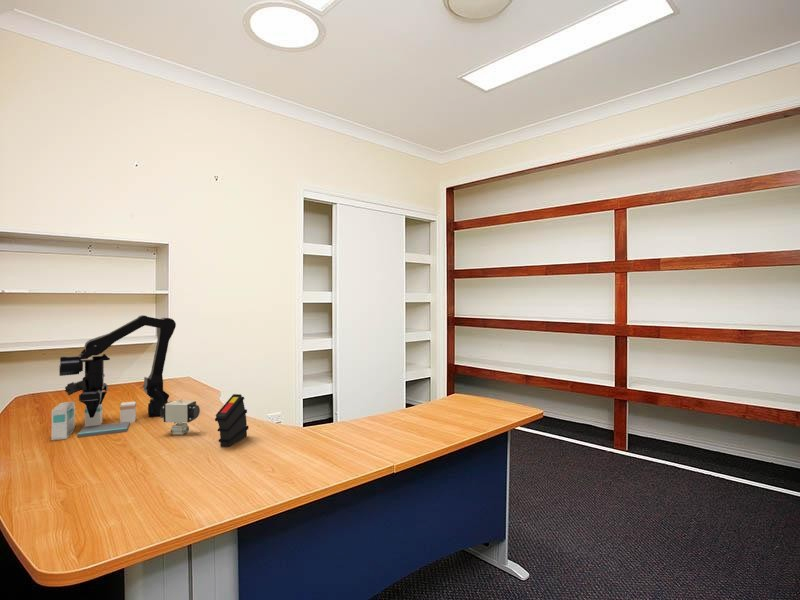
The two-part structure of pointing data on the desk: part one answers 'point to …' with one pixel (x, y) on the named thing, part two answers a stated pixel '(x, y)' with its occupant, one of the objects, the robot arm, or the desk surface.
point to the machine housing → (63, 420)
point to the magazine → (232, 421)
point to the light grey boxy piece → (128, 412)
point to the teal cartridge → (96, 419)
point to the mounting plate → (104, 429)
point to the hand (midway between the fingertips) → (94, 414)
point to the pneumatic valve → (180, 415)
